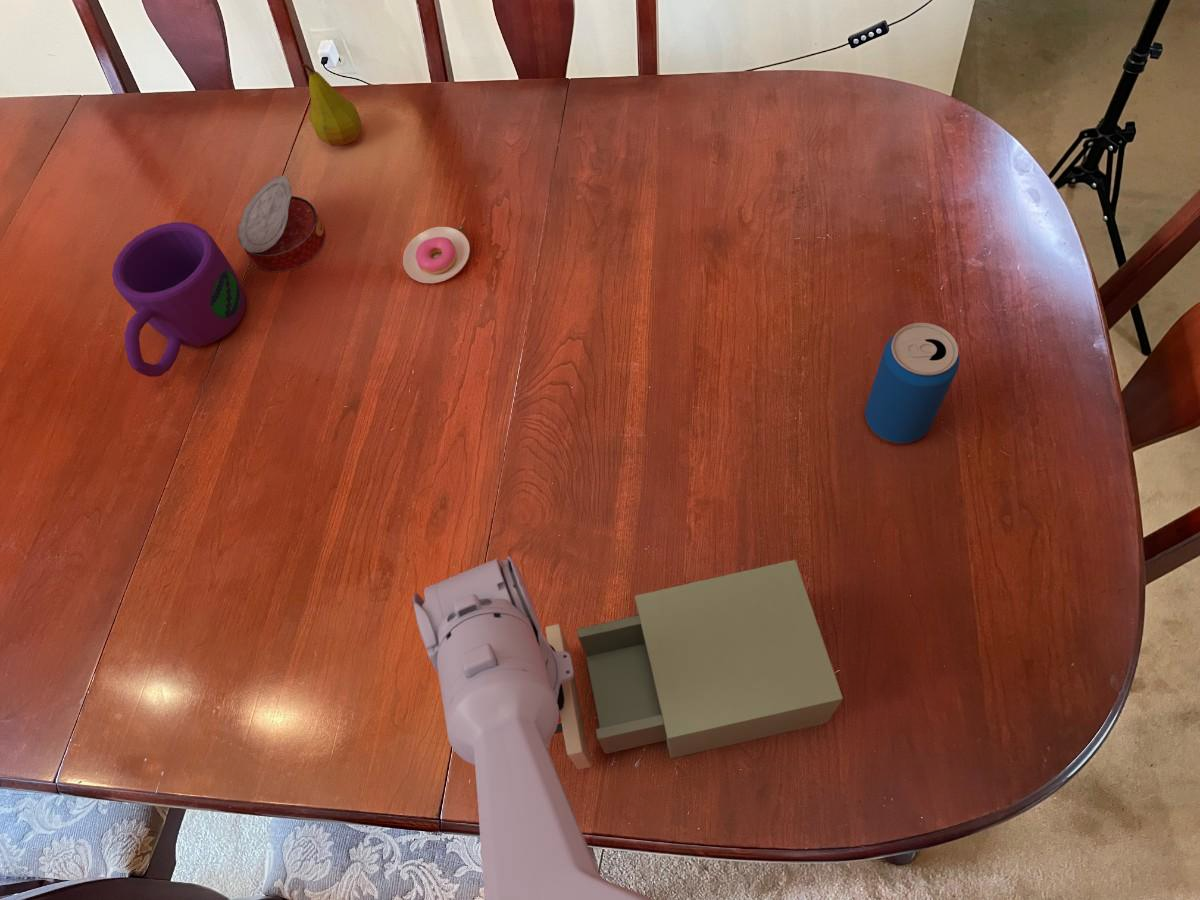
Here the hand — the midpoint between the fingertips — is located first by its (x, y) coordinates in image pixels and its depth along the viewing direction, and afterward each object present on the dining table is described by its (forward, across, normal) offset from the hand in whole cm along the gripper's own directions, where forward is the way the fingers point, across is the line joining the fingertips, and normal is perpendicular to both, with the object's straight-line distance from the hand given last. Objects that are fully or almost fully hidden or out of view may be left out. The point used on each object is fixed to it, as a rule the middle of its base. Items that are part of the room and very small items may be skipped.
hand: (538, 703), depth 71 cm
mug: (+4, +52, +33) cm, 62 cm away
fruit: (+5, +81, +14) cm, 82 cm away
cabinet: (+4, 0, -16) cm, 17 cm away
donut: (+4, +57, +3) cm, 57 cm away
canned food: (+4, +64, +22) cm, 68 cm away
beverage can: (+4, +21, -40) cm, 45 cm away
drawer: (+3, 0, -6) cm, 7 cm away
